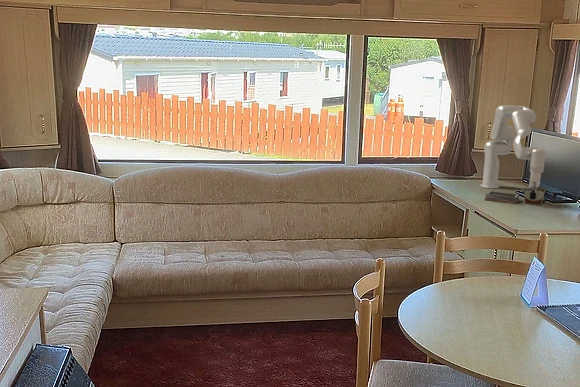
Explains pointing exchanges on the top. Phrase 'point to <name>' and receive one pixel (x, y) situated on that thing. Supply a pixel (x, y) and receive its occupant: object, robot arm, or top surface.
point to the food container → (539, 196)
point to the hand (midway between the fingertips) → (533, 197)
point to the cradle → (502, 197)
